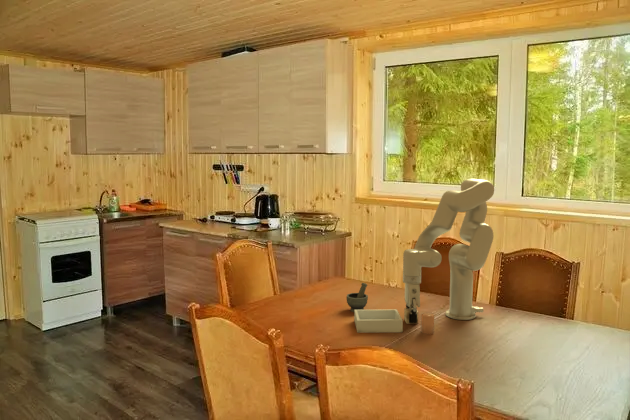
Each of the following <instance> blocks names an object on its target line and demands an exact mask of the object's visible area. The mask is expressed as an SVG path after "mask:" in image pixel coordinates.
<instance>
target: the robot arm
mask: <svg viewBox="0 0 630 420" xmlns="http://www.w3.org/2000/svg"><path fill="white" fill-rule="evenodd" d="M494 193H495V186H494V184H493V183H492V182H491V181H489V180H487V179H479V178H478V179H477V178H467V179H464V180H462V182H461V185H460V191H459V190H447V191H445V192H443V194H442V196H441V197H440V201H439V203H438V206H437V208H436V211H435V212H434V216H433V218H432V220H431V222H430V223H429V224H428V226H426V228H424V230H423V231H422V232H421V233H420V235H419V236H418V238H417V241H416V243H415V245H414V248H408V249H405V250H404V251H403V252H402V253H403V255H402V259H403V260H402V283H404V303H405V309H407V308H410V313H409V323H415V324H418V323H417V311H418V308H420V307H421V291H420V284H422V268H436V267H438V266H440V265H441V262H442V254H441V253H440V252H439V251H438V250H436V249H433V248H432V245H433V244H434V242H435V240H436V239H437V238H438V237H440V236H442V235H444V234H446V233H448V232H450V231H451V230H452V228H453V225H454V223H455V220H456V217H457V216H458V213H465V214H464V217H463V220H462V223H461V226H460V229H459V237H460V239H461V240H462V241H464V242H467V243H469V245H468V244H465V243H456V244H454V245H453V246H451V248H450V249H449V252H448V262H449V269H450V270H449V271H450V275H449V276H450V277H449V278H450V281H449V309H447V310H446V311H445V316H446V317H448V318H451V319H453V320H458V321H469V320H474V319H475V318H476V316H477V315H476V313H484V307H479V306H474V305H473V292H474V290H473V288H474V285H473V284H474V273H473V272H475V271H479V270H481V269H482V268H483V267H484V265H485V264H486V261H487V260H488V256H489V254H490V250H491V247H492V244H493V242H494V241H493V240H494V230H493V229H492V227H491V225H489V224H488V223H485V222H486V217H487V212H488V205H487V202H488V201H489V200H490V199H491V198H492V197H493V196H494ZM411 308H413V309H412V310H411Z"/></svg>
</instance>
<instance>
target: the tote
mask: <svg viewBox="0 0 630 420" xmlns="http://www.w3.org/2000/svg"><path fill="white" fill-rule="evenodd" d="M353 313H354V314H353V315H354V316H353V317H354V319H353V320H354V325H355V328H356V329H355V330H356V333H357V334H359V333H360V334H361V333H370V334H371V333H372V334H373V333H403V331H404V330H403V326H404V325H403V323H404V322H403V321H404V320H403V318H402V316H401V315H400V313H399V311H398V309H397V308H396V309H395V308H393V309H383V308H382V309H376V308H375V309H364V310H354V312H353Z"/></svg>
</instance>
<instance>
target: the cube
mask: <svg viewBox="0 0 630 420" xmlns="http://www.w3.org/2000/svg"><path fill="white" fill-rule="evenodd" d="M406 308H407V307H406ZM406 308H404V310H403V311H404V313H403V315H404V318H403V319H404V320H403V321H405V323H406V324H411V325H413V324H419V311H418V310H417V323H409V313H410V308H407V309H406ZM412 309H413V308H411V310H412Z"/></svg>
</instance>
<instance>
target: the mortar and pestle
mask: <svg viewBox="0 0 630 420" xmlns="http://www.w3.org/2000/svg"><path fill="white" fill-rule="evenodd" d="M367 287H368V284H367V283H365V282H362V283H361V286H360V289H359V291H358V292H351V293H348V294H346V303H347V305H348V306H349V307H350V312H352V313H354V310H365V307H366V306H367V304H368V299H369V296H368V294H366V293H365V292H366V289H367Z"/></svg>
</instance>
